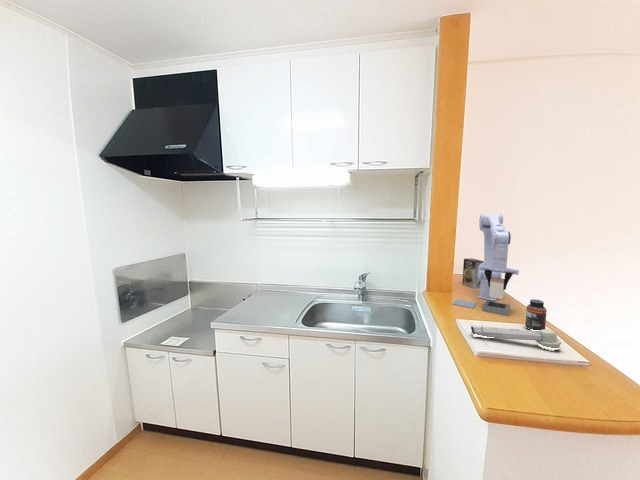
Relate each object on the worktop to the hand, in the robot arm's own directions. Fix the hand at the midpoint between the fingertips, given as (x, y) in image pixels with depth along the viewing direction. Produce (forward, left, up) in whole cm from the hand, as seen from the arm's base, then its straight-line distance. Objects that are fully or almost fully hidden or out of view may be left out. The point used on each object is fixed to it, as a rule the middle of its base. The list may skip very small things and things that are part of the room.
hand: (497, 288), depth 121 cm
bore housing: (0, 0, -10) cm, 10 cm away
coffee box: (-38, -17, -11) cm, 43 cm away
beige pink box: (0, 0, -4) cm, 4 cm away
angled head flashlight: (+32, +9, -11) cm, 35 cm away
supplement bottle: (+14, +14, -11) cm, 23 cm away
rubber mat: (0, -13, -10) cm, 16 cm away
